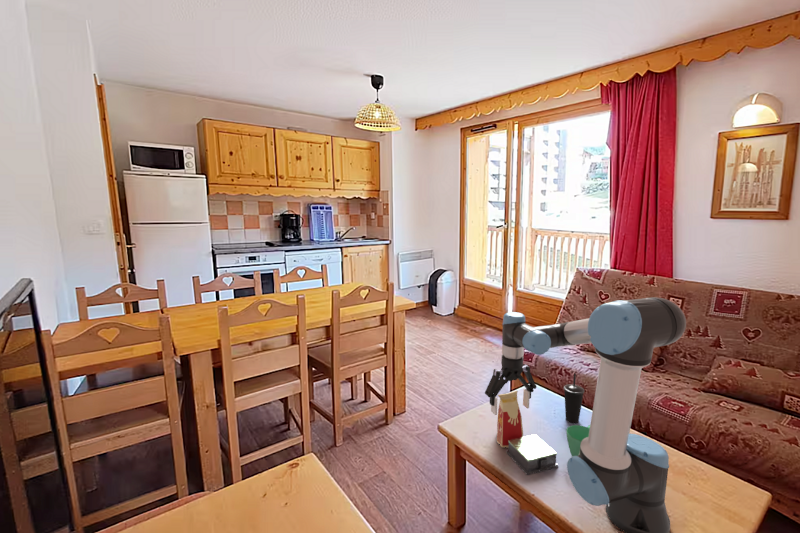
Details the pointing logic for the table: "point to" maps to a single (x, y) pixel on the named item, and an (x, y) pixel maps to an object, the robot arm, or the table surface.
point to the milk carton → (508, 419)
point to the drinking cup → (573, 401)
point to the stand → (532, 454)
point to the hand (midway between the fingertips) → (510, 409)
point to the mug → (576, 437)
